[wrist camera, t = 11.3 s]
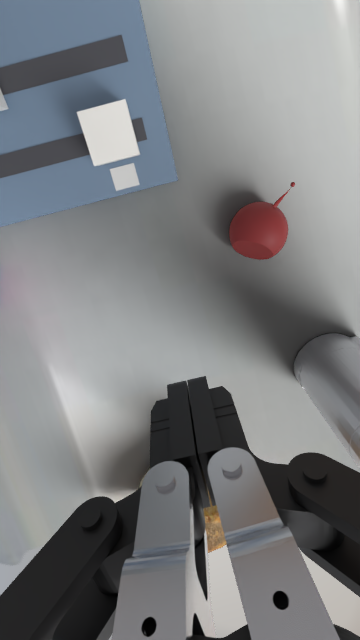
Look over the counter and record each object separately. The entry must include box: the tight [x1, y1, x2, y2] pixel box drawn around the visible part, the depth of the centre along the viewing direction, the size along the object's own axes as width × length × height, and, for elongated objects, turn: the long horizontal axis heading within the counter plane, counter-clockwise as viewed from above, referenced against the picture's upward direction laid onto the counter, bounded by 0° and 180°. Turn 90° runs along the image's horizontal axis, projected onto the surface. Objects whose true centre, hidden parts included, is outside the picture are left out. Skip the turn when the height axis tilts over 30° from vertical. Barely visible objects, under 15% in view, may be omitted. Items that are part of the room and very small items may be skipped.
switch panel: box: [0, 0, 178, 227], centre depth 30 cm, size 20×16×2 cm
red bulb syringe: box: [229, 182, 295, 259], centre depth 34 cm, size 6×6×8 cm
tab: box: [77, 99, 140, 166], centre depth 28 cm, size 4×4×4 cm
